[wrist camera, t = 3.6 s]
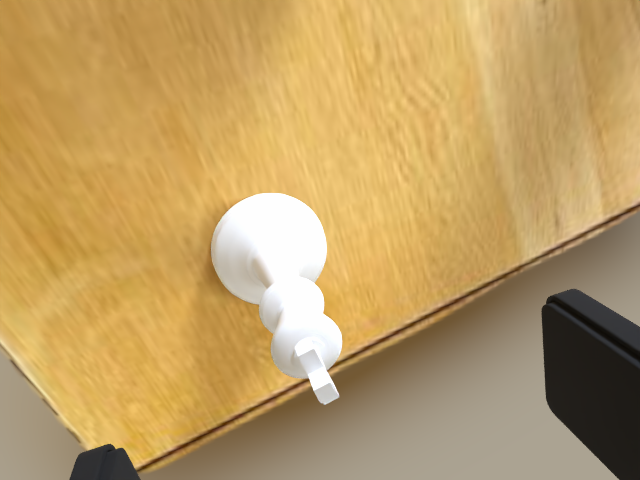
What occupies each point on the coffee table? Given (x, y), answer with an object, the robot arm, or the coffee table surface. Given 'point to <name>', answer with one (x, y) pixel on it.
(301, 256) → the chess piece
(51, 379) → the coffee table surface
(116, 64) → the coffee table surface
